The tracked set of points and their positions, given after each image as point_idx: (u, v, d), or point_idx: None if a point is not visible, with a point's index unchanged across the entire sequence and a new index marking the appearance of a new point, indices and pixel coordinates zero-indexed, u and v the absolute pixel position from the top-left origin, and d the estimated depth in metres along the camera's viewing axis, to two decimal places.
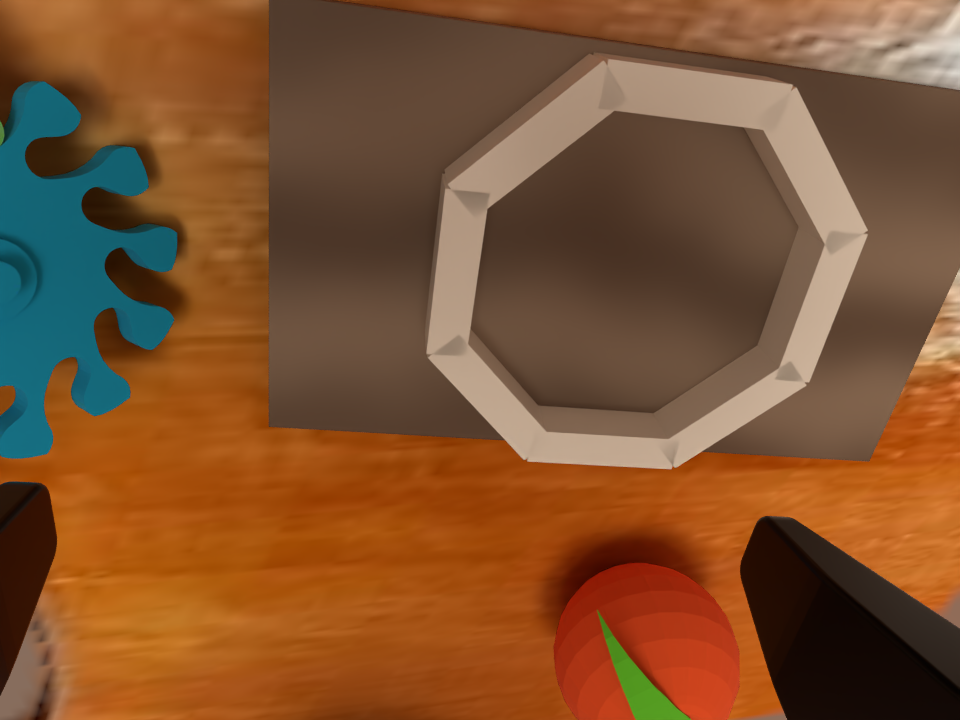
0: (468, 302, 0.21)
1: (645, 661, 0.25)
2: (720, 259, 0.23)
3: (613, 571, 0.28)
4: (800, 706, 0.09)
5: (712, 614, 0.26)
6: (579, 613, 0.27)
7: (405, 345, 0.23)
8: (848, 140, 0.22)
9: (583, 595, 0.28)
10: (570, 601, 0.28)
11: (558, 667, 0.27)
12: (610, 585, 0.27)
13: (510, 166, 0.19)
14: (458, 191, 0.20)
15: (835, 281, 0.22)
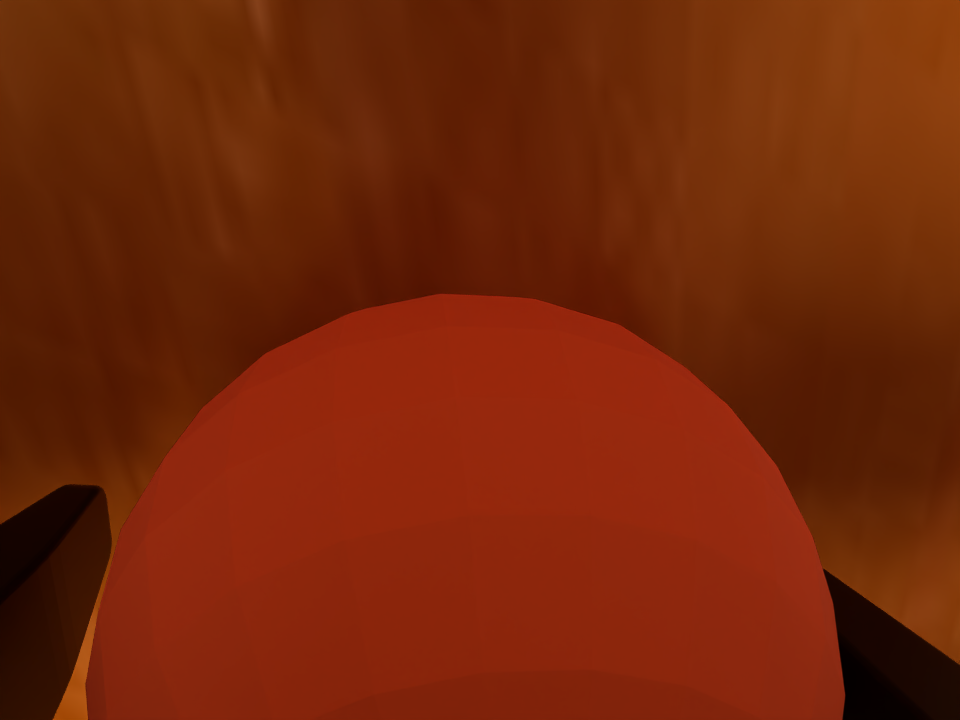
0: None
1: None
2: None
3: None
4: None
5: (136, 533, 0.06)
6: None
7: None
8: None
9: None
10: None
11: None
12: None
13: None
14: None
15: None
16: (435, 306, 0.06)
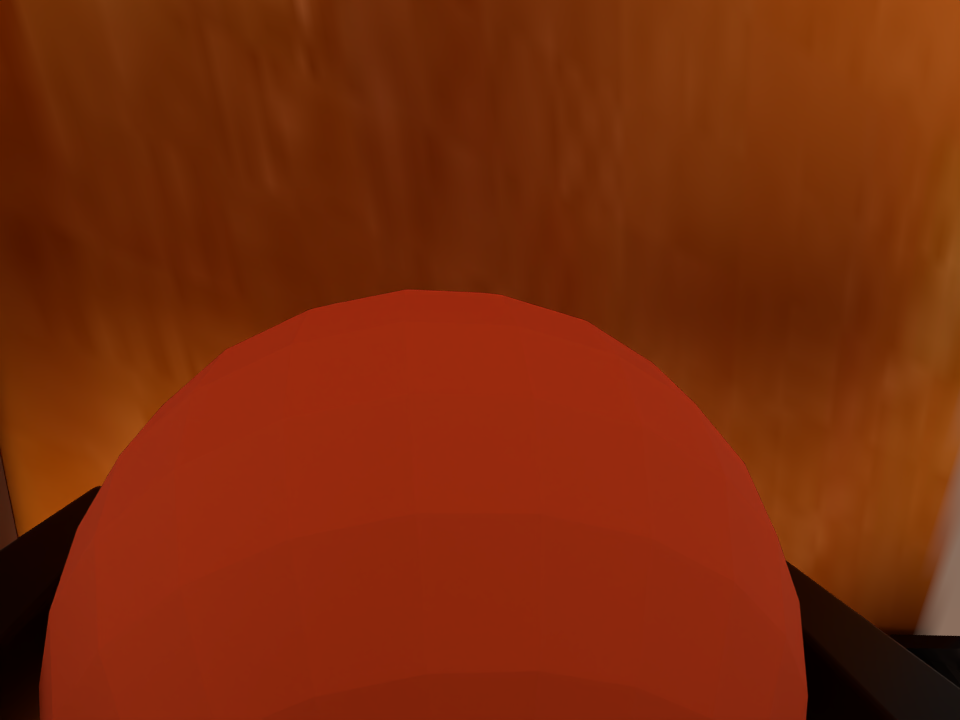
0: None
1: None
2: None
3: None
4: None
5: (87, 532, 0.06)
6: None
7: None
8: None
9: None
10: None
11: None
12: None
13: None
14: None
15: None
16: (396, 301, 0.06)
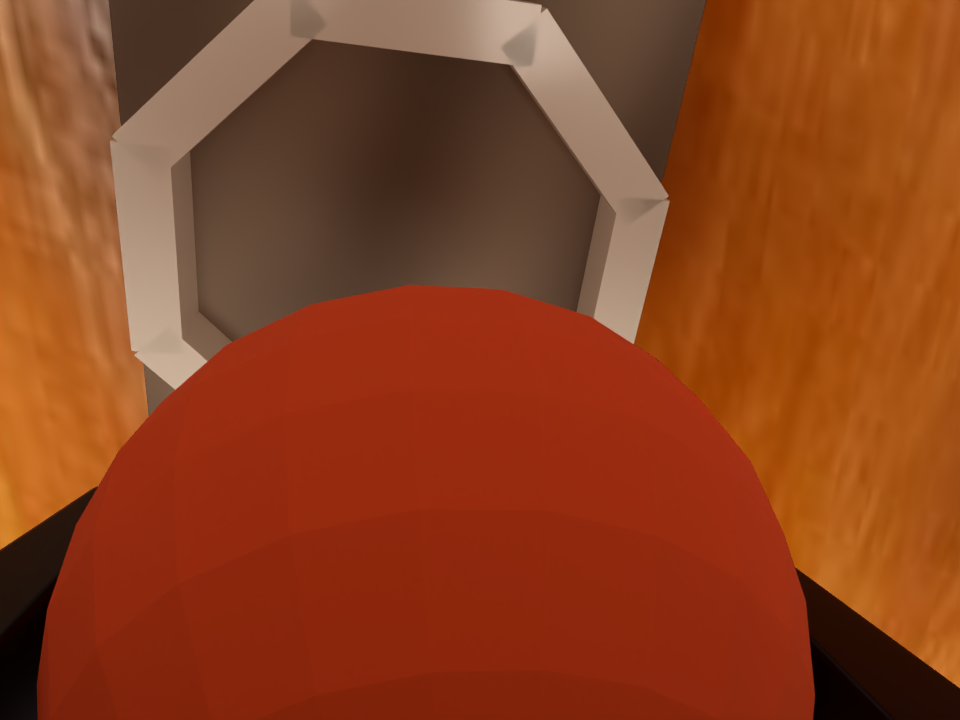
0: None
1: None
2: (373, 141, 0.17)
3: None
4: None
5: (86, 528, 0.06)
6: None
7: None
8: None
9: None
10: None
11: None
12: None
13: None
14: None
15: (367, 4, 0.15)
16: (398, 296, 0.06)
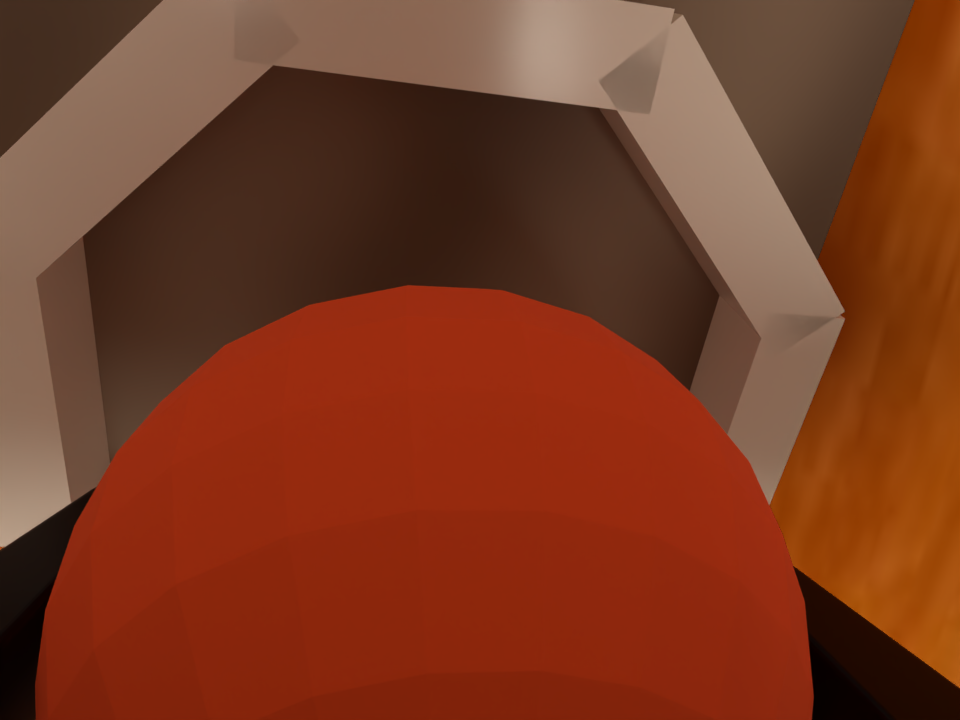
0: None
1: None
2: (376, 219, 0.11)
3: None
4: None
5: (84, 528, 0.06)
6: None
7: None
8: None
9: None
10: None
11: None
12: None
13: None
14: None
15: (371, 4, 0.08)
16: (397, 297, 0.06)
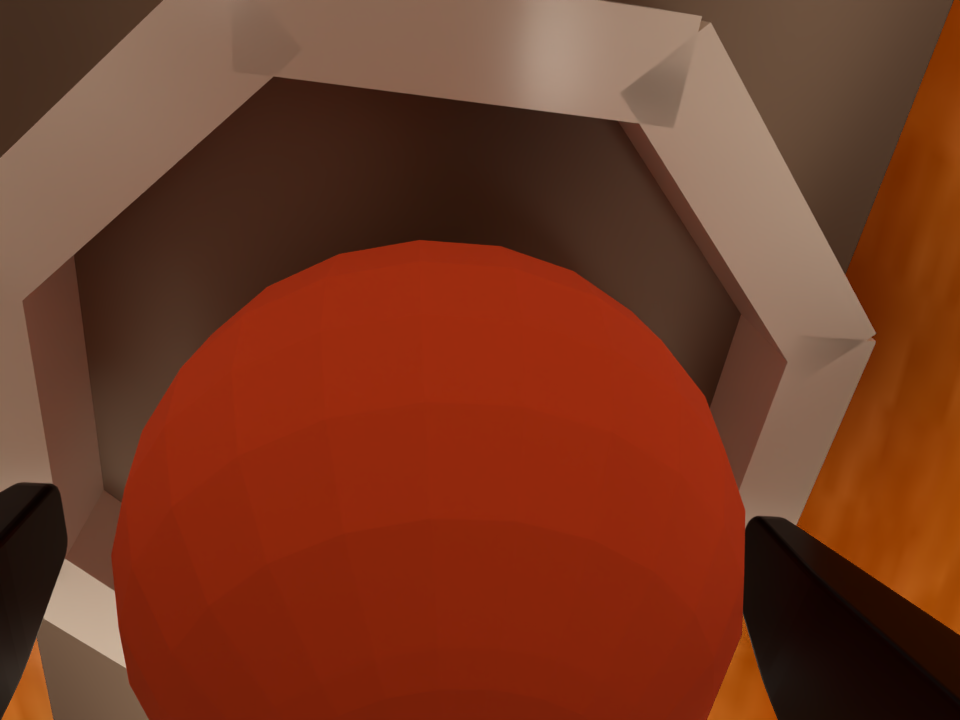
0: None
1: None
2: (382, 236, 0.11)
3: None
4: (790, 706, 0.09)
5: (155, 427, 0.07)
6: None
7: None
8: None
9: None
10: None
11: None
12: None
13: None
14: None
15: (379, 12, 0.08)
16: (412, 248, 0.07)
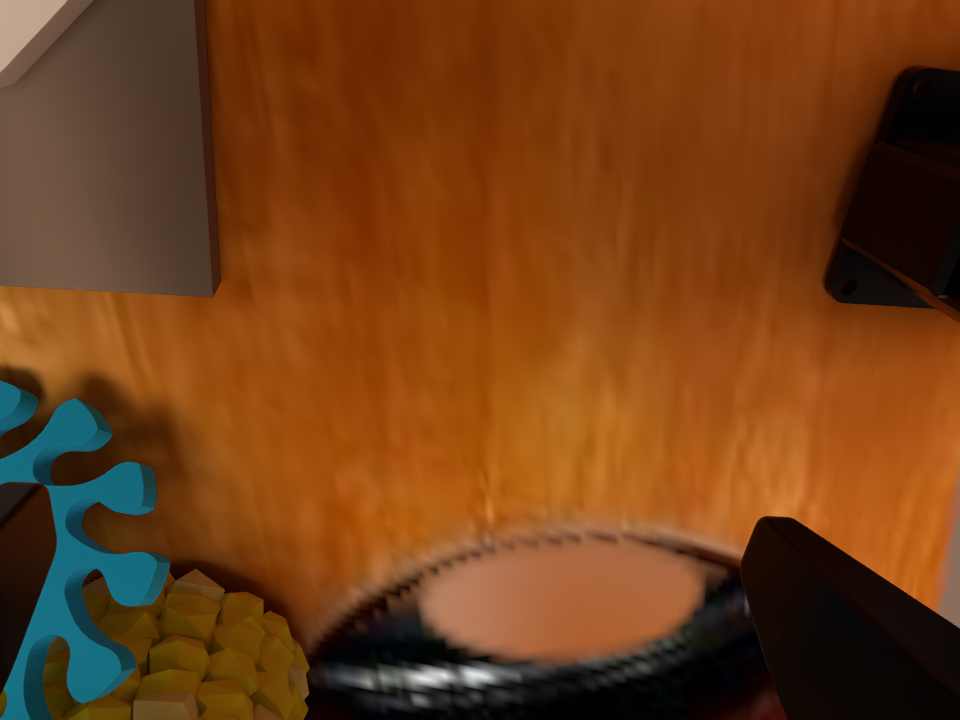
0: None
1: None
2: None
3: None
4: (800, 706, 0.09)
5: None
6: None
7: (42, 114, 0.16)
8: None
9: None
10: None
11: None
12: None
13: None
14: None
15: None
16: None
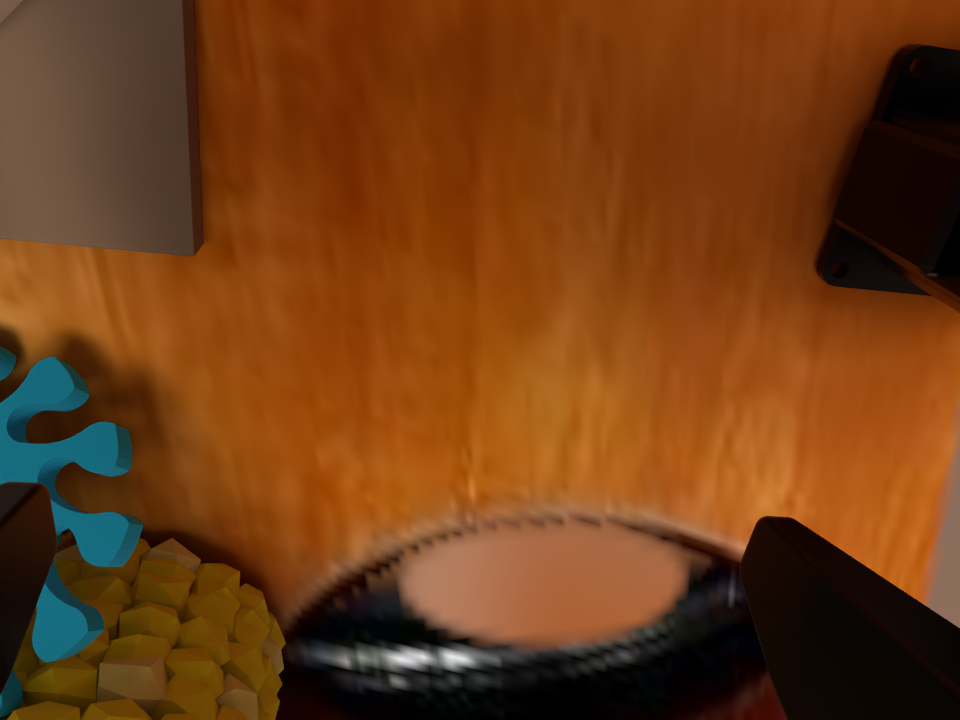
0: None
1: None
2: None
3: None
4: (800, 706, 0.09)
5: None
6: None
7: (23, 60, 0.16)
8: None
9: None
10: None
11: None
12: None
13: None
14: None
15: None
16: None
